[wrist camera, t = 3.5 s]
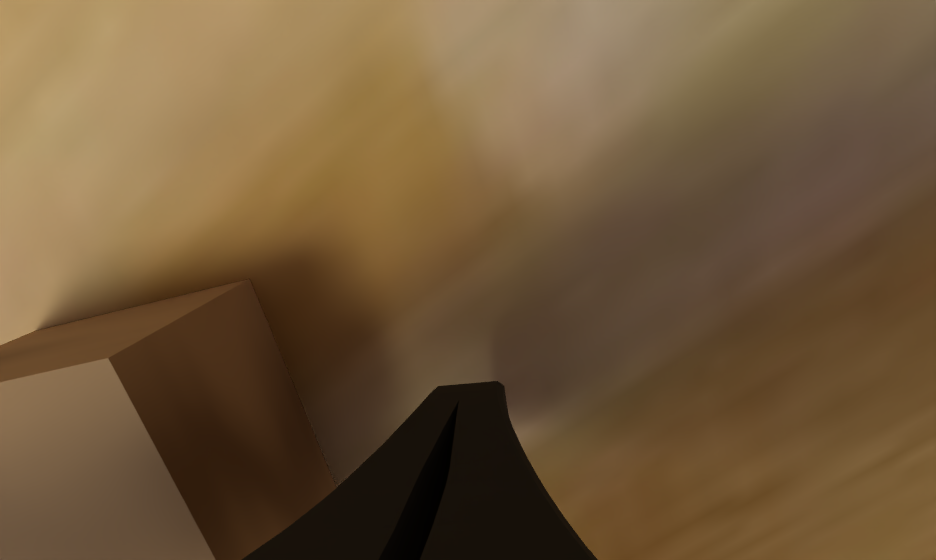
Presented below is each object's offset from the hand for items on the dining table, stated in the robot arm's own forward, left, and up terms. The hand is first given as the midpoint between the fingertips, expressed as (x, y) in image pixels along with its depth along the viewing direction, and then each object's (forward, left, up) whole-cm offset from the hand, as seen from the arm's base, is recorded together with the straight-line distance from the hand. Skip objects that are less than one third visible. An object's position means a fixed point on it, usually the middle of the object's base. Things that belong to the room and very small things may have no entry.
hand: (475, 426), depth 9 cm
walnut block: (0, +7, -2) cm, 8 cm away
